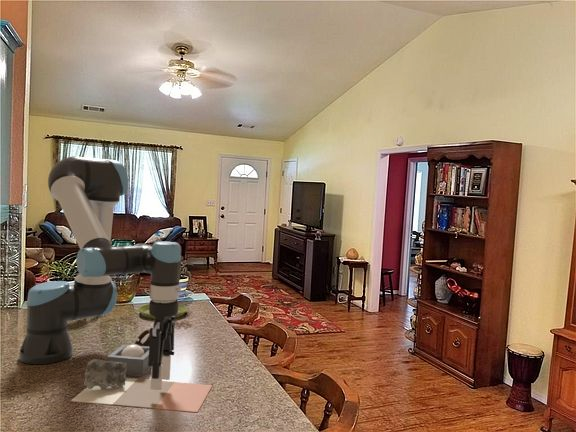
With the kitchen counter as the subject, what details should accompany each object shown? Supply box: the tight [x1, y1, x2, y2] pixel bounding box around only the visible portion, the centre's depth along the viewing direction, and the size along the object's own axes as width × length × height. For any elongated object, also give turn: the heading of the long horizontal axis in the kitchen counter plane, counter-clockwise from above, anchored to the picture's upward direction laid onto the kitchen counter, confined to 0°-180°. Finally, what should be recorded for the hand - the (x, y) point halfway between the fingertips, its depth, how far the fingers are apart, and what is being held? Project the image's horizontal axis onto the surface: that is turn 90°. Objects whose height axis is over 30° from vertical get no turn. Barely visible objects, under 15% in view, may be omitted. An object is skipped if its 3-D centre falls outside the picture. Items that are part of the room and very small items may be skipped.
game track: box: [70, 377, 213, 414], centre depth 122 cm, size 33×16×1 cm, turn 86°
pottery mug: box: [134, 328, 150, 347], centre depth 154 cm, size 12×9×8 cm
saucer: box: [138, 303, 188, 320], centre depth 198 cm, size 21×21×3 cm
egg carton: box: [83, 358, 127, 389], centre depth 123 cm, size 11×8×4 cm
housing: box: [106, 344, 152, 377], centre depth 138 cm, size 11×11×5 cm
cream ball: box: [121, 343, 144, 357], centre depth 138 cm, size 7×7×7 cm
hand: (160, 383), depth 121 cm, fingers open, 6 cm apart
